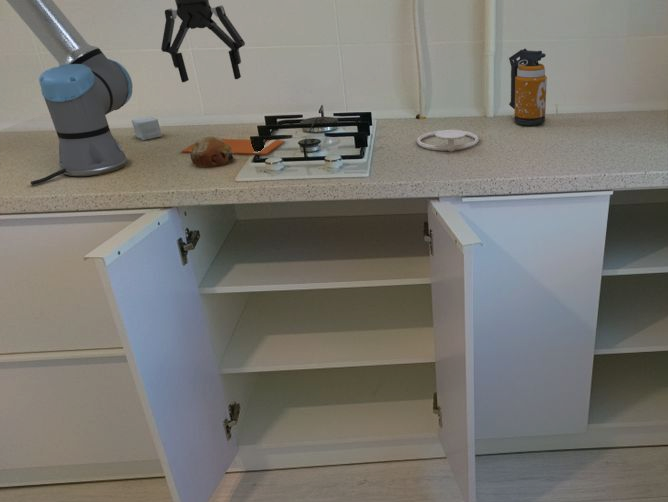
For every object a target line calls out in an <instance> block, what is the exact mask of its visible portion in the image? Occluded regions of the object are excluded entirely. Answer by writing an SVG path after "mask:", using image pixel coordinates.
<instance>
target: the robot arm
mask: <svg viewBox="0 0 668 502" xmlns="http://www.w3.org/2000/svg"><path fill="white" fill-rule="evenodd" d="M5 1H6V2H7V3H8V4H9V6H10V7H11V8H12V9H13V10H14V11H15V13H16V14H17V15H18V16H19V18H20V19H21V20H22V21H23V22H24V23H25V25H26V26H27V27H28V28H29V30H30V31H31V32H32V33H33V34H34V35H35V37H36V38H37V39H38V40H39V41H40V43H41V44H42V45H43V46H44V48H46V50H47V51H48V52H49V53H50V54H51V56H52V58H54V59H55V60H56V62H57V63H58V66H53V67H51V68H49V69H47V70H44V71H43V72H41V74H40V76H39V79H38V81H39V86H40V91H41V95H42V97H43V100H44V101H45V104H46V107H47V109H48V112H49V115H50V119H51V121H52V124H53V126H54V130H55V132H56V135H57V138H58V153H59V154H58V155H59V161H58V163H59V168H60V170H57V171H56V172H53V173H51V174H49V175H47V176H44V177H42V178H39V179H36V180H31V181H30V185H31V186H35V185H39V184H42V183H45V182H48V181H50V180H51V179H54V178H56V177H58V176H60V175H65V176H69V177H92V176H100V175H104V174H108V173H113V172H115V171H118V170H120V169H122V168H125V166H127V165H128V158H127V156H126V153H125V152H124V151H123V149H122V148H123V147H122V145H121V143H120V142H119V141H117V140H116V138H115V137H114V136H113V133H112V132H111V129H110V126H109V122H108V119H107V116H106V115H108V114H110V113H112V112H114V111H118V110H120V109H121V108H122V107H124V106H125V105H126V104H127V103H128V102H129V101H130V99H131V98H132V95H133V87H134V86H133V80H132V78H131V76H130V73H129V72H128V71H127V69H126V68H125V67H124V66H123V65H122V64H121V63H119V62H118V61H116V60H113V59H111V58H108V57H107V56H106V55H105V54H104V53H103V51H102V50H101V49H100V47H98V46H95V45H91V44H89V43H88V42H87V41H86V39H85V38H84V37H83V36H82V34H80V32H79V31H78V30H77V28H76V27H75V26H74V25H73V23H72V22H71V21H70V20H69V19H68V18H67V16H66V15H65V14H64V12H63V11H62V10H61V9H60V7H59V6H58V5H57V3H55V1H54V0H5ZM174 1H175V5H176V9H173V8H168V9H165V10H164V16H165V24H164V29H163V30H164V31H163V35H162V42H161V48H160V49H161V52H162V53H168V54H169V55H170V57H171V61H172V64H173V67H174V68H175V69H178V73H179V78H180V80H181V83H186V82H188V81H189V75H188V72H187V69H186V68H187V67H186V65H185V61H184V57H183V53H182V52H179V49H180V47H181V45H182V44H183V41H184V39H185V38H186V35H187V33H188V31H189V30H190V29H191V30H194V29H205V28H208V30H210V31H211V32H212V33H213V34H214V35H216V36H217V38H219V39H220V40H221V42H223V43H224V44H225V45H226V47H228V48H229V50H228V55H229V59H230V64H231V68H232V73H233V78H234V80H240V78H242V74H241V70H240V66H239V65H241V63H242V58H241V55H240V48H242V47H244V46H246V42H245V40H244V39H243V38H242V36H241V35H240V33H239V32H238V31H237V29H236V27H235V25H234V24H233V23H232V21H231V20H230V19H229V16H227V13H226V11H225V7H224V6H223V5H222V4H221V5H217V6H215V7H212V6H211V5H210V0H174ZM213 15H215V17H217V19H218V20H219V21H220V23H221V24H222V26H223V27H224V29H225V30H226V32H225V31H224V30H223V29H222V28H221V27H220V26H219V25H218V24H217V23H216V21H214V19H213V18H212V17H213ZM177 17H178V19H180V20H181V23H180V25H179V28H178V31H177V32H176V36H175V37H174V38H173V34H174V27H175V20H177ZM227 33H228V34H227ZM229 35H230V36H229ZM172 39H173V41H172Z"/></svg>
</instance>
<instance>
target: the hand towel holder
mask: <svg viewBox="0 0 668 502" xmlns="http://www.w3.org/2000/svg"><path fill="white" fill-rule="evenodd" d="M435 136H436V138H437V139H440V140H443V141H447V145H434V144H428V143H424V142H423V141H422V140H423V139H426V138H430V137H435ZM465 137H469V138H472V139H474V140H473V141H471V142H467V143H464V144H463V143H462V144H455V142H454V141H455V140H460V139H462V138H465ZM479 141H480V140H479V137H478V135H477V134H475V133H473V132H470V131H465V130H460V129H444V130H435V131H428V132H425V133H422V134H421V135H419V136H418V137H417V138H416V143H417V144H418V146H419V147H421V148H423V149H427V150H430V151H431V150H433V151H442V152H443V151H448V152H449V153H451V152H454V151H460V150H466V149H469V148H472V147H474V146H476V145H477V144H478V143H479Z"/></svg>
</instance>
